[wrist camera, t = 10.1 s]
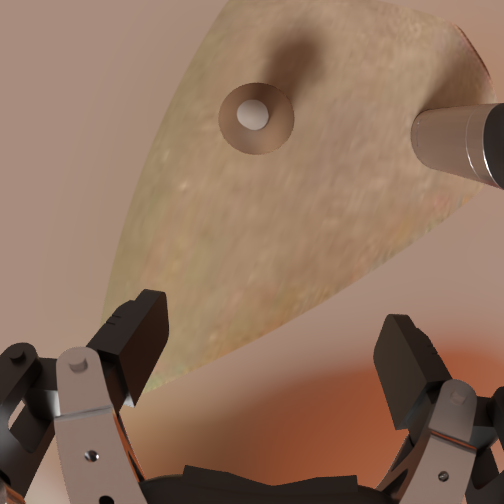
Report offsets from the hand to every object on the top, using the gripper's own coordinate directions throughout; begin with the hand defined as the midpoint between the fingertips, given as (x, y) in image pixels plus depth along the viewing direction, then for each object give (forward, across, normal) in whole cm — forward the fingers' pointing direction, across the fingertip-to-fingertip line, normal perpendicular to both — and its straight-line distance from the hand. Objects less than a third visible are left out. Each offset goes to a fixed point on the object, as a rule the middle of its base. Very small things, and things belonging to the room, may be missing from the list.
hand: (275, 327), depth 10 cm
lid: (+22, +3, -8) cm, 24 cm away
